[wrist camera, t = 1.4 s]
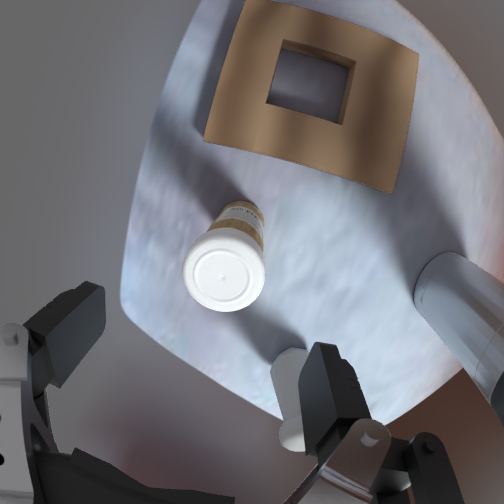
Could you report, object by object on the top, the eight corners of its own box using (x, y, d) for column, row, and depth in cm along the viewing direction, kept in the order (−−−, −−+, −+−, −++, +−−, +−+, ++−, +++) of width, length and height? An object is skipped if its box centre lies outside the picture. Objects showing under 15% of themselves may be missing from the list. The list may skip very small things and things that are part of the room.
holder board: (408, 60, 20) (419, 53, 18) (382, 191, 25) (392, 194, 23) (248, 8, 20) (246, -3, 17) (208, 142, 25) (202, 140, 22)
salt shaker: (268, 375, 33) (268, 458, 21) (271, 341, 32) (272, 429, 19) (313, 374, 33) (327, 456, 21) (319, 341, 31) (340, 426, 19)
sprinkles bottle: (210, 226, 28) (165, 282, 15) (237, 190, 26) (212, 217, 14) (245, 253, 28) (231, 328, 16) (274, 219, 27) (283, 272, 14)
